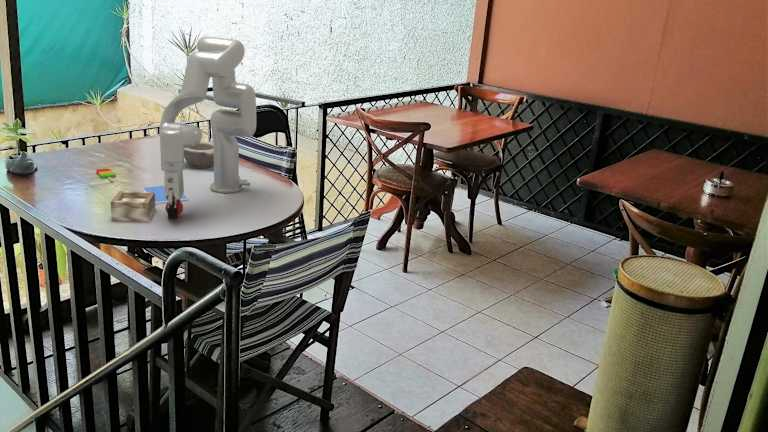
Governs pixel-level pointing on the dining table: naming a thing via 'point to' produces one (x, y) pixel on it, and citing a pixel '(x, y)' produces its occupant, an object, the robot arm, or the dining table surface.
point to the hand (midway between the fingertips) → (174, 214)
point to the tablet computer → (161, 194)
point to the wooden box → (133, 206)
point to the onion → (179, 206)
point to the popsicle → (106, 174)
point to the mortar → (200, 155)
